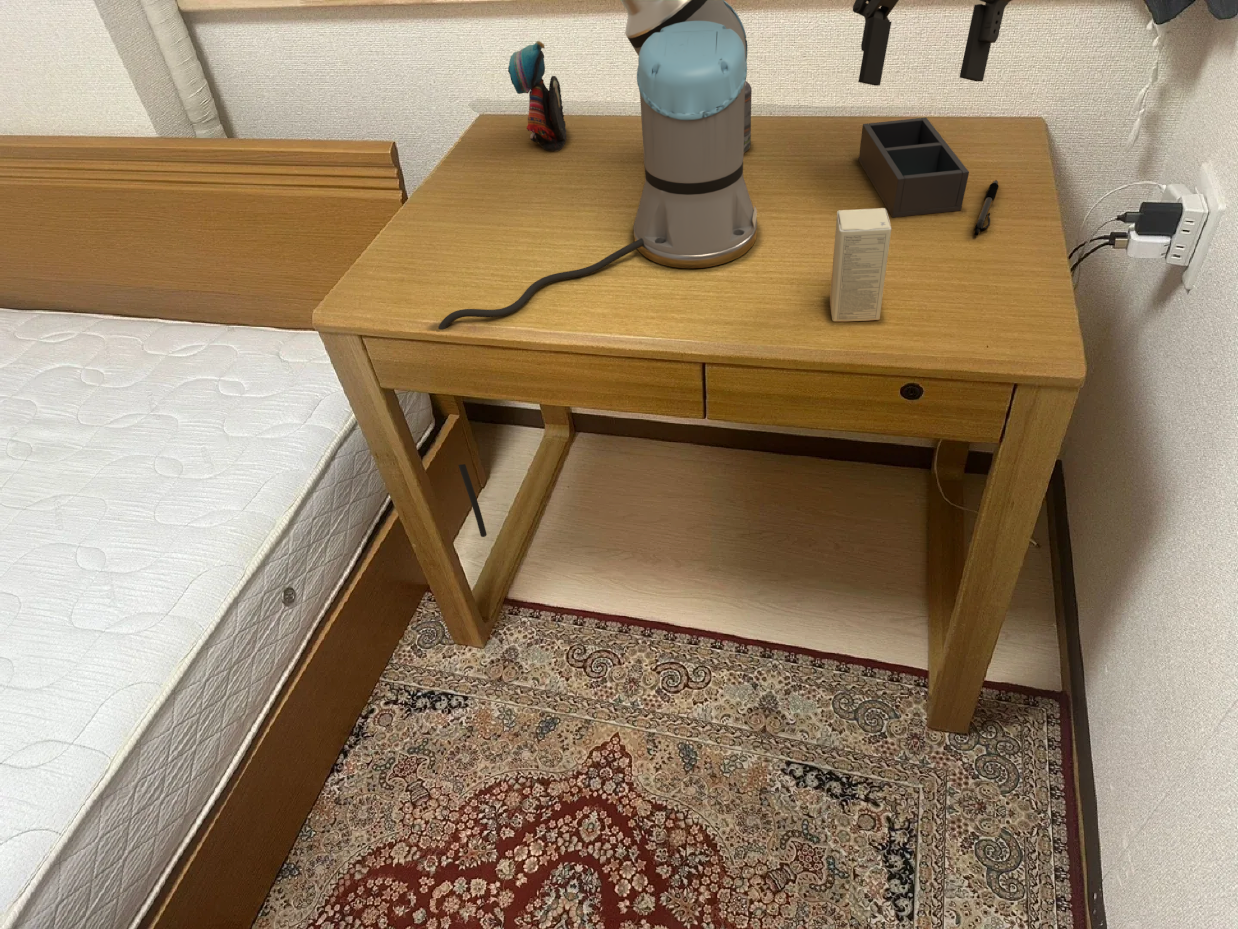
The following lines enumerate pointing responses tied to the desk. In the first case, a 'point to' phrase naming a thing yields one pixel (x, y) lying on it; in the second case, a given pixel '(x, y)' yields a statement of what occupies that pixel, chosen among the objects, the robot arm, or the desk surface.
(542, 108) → the figurine
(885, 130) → the holder
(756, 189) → the desk surface
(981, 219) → the pen
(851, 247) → the box
